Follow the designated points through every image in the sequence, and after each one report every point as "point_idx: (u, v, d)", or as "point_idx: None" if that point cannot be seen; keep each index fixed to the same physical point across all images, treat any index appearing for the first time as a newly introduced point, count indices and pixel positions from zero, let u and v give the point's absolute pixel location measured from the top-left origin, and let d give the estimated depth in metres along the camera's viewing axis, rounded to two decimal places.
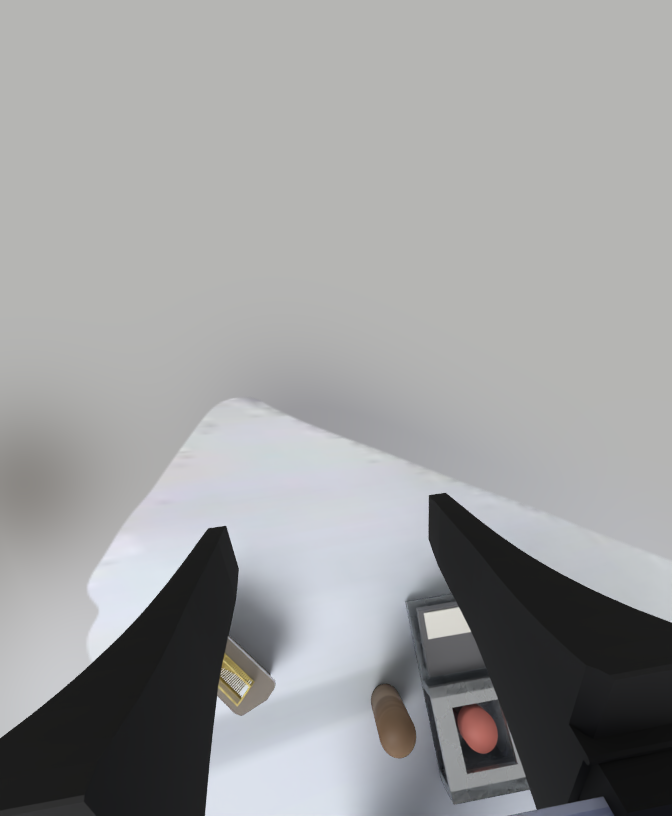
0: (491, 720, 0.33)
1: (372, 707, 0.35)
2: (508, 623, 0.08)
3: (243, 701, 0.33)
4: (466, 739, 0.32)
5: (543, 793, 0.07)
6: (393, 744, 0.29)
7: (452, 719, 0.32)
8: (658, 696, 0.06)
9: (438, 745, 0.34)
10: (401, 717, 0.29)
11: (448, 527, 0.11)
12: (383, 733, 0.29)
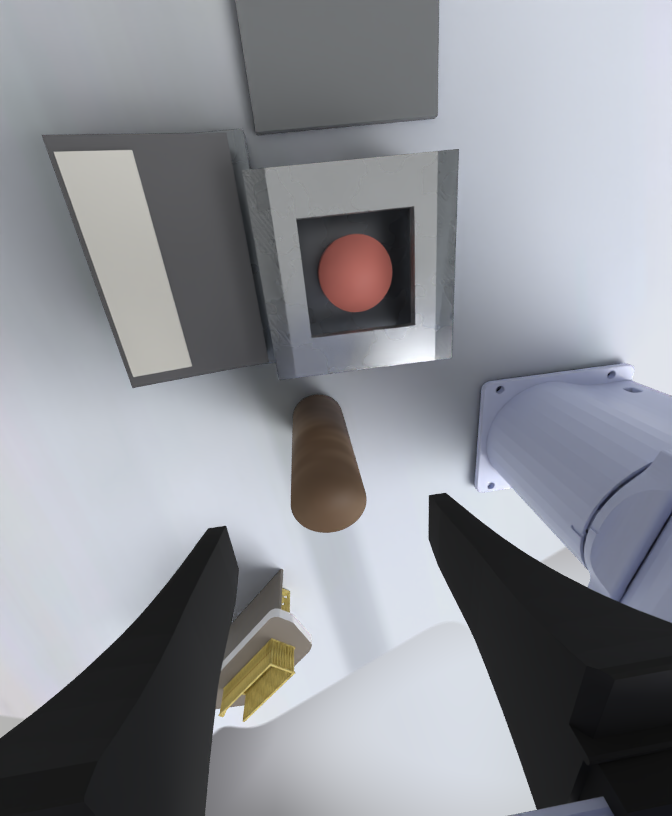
0: (340, 243, 0.15)
1: None
2: (508, 623, 0.08)
3: (295, 645, 0.22)
4: (368, 306, 0.16)
5: (543, 793, 0.07)
6: (345, 510, 0.14)
7: (330, 340, 0.15)
8: (658, 696, 0.06)
9: None
10: (302, 495, 0.14)
11: (448, 527, 0.11)
12: (327, 526, 0.14)
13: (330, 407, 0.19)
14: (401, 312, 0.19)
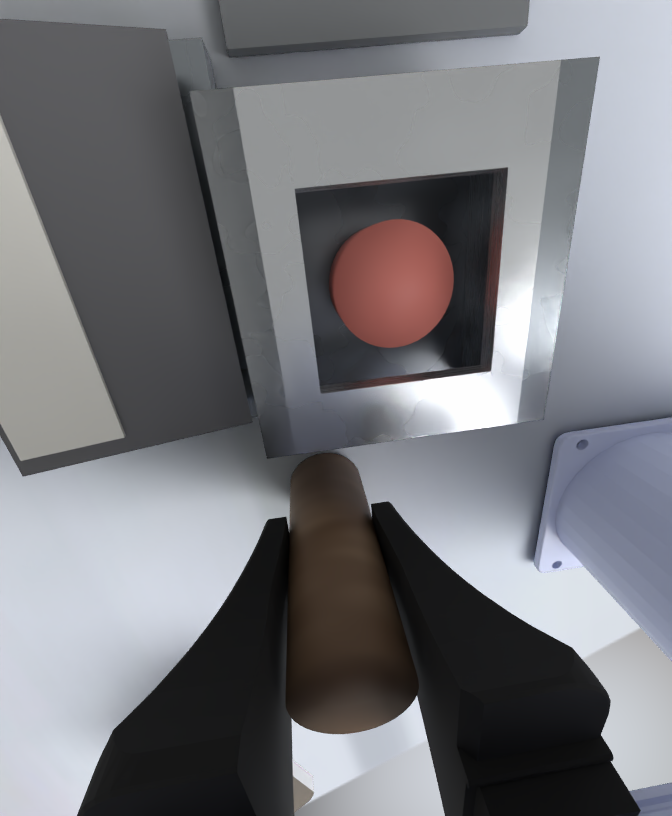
0: (370, 236, 0.09)
1: None
2: (420, 639, 0.08)
3: None
4: (411, 339, 0.10)
5: (449, 812, 0.07)
6: (380, 704, 0.08)
7: (352, 396, 0.09)
8: (536, 719, 0.06)
9: None
10: (306, 689, 0.08)
11: (383, 537, 0.11)
12: (348, 725, 0.08)
13: (345, 478, 0.13)
14: (450, 339, 0.13)
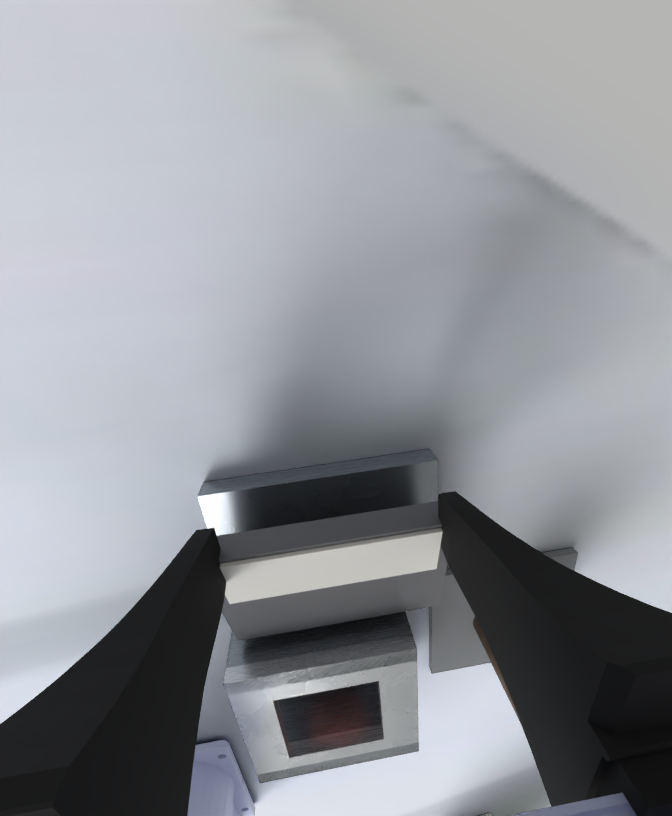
0: None
1: (487, 647, 0.18)
2: (522, 621, 0.08)
3: None
4: None
5: (558, 790, 0.07)
6: None
7: (271, 713, 0.15)
8: None
9: None
10: None
11: (459, 525, 0.11)
12: None
13: None
14: None
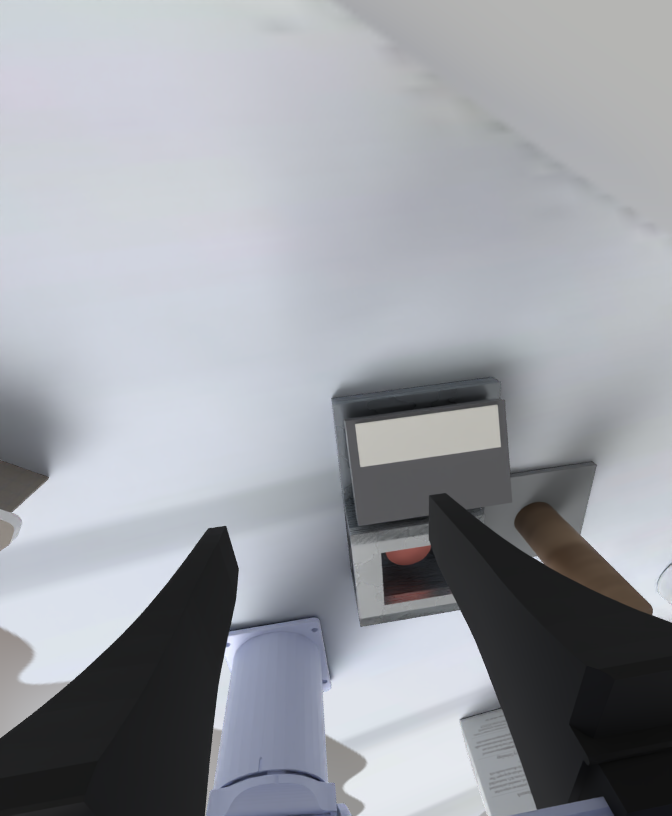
0: None
1: (528, 534, 0.25)
2: (508, 623, 0.08)
3: None
4: (388, 555, 0.24)
5: (543, 793, 0.07)
6: None
7: (378, 563, 0.21)
8: (658, 696, 0.06)
9: None
10: (640, 606, 0.19)
11: (448, 527, 0.11)
12: None
13: None
14: None
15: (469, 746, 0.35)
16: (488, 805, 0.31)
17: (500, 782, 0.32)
